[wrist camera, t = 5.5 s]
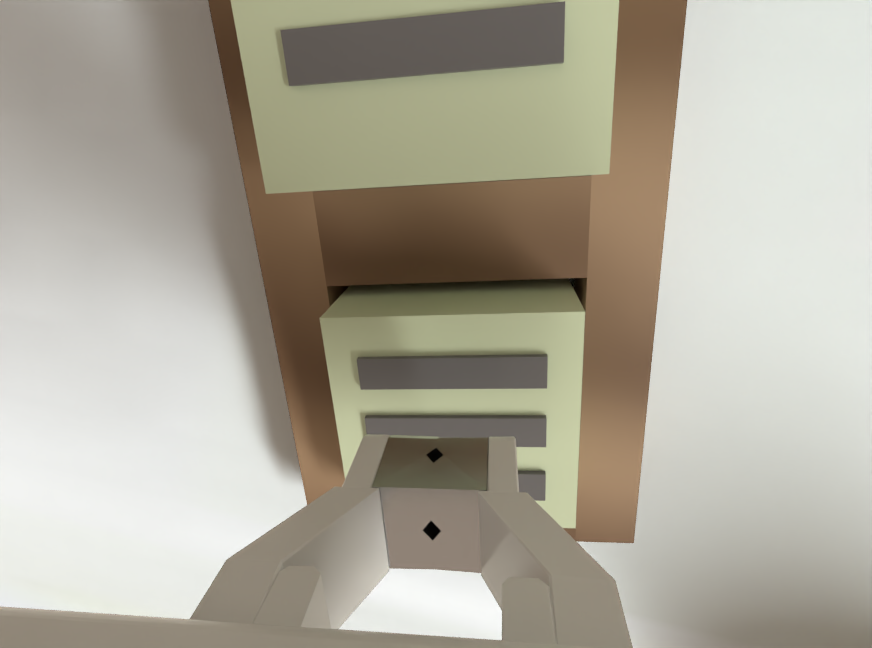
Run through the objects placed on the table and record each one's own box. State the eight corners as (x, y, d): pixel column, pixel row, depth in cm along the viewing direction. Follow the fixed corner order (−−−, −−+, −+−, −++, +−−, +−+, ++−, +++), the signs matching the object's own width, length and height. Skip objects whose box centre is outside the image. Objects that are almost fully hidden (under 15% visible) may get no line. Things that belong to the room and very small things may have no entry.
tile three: (353, 281, 14) (317, 320, 11) (566, 274, 14) (586, 313, 11) (376, 455, 16) (350, 526, 14) (561, 457, 16) (576, 532, 13)
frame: (86, -921, 8) (-36, -1239, 6) (752, -1167, 7) (850, -1658, 5) (331, 491, 18) (312, 533, 16) (618, 497, 17) (633, 543, 15)
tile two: (273, -143, 10) (178, -262, 7) (593, -189, 9) (641, -346, 6) (320, 178, 12) (262, 194, 9) (580, 163, 11) (611, 174, 8)
